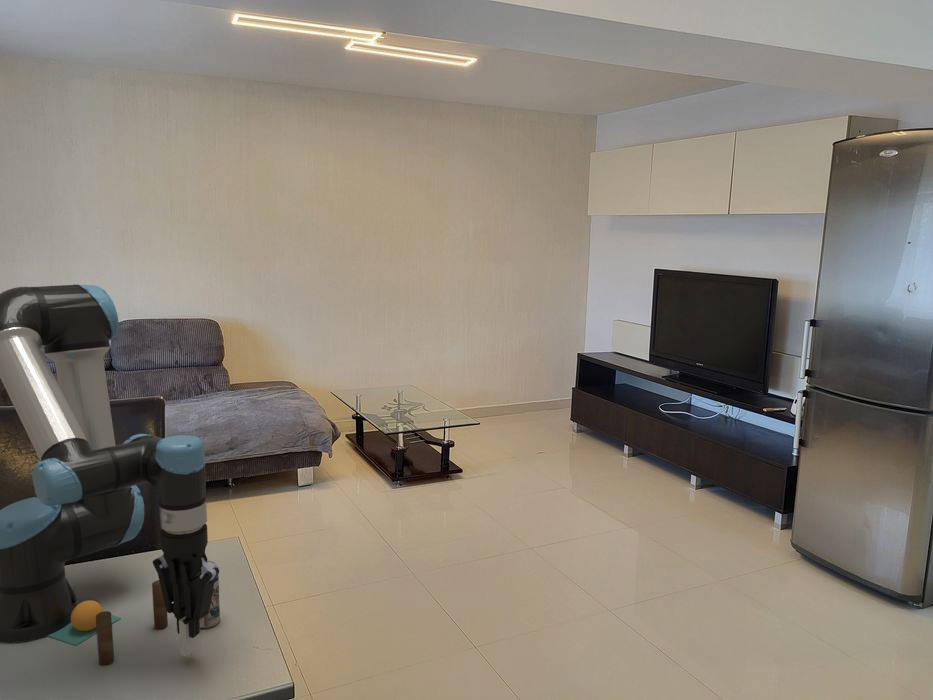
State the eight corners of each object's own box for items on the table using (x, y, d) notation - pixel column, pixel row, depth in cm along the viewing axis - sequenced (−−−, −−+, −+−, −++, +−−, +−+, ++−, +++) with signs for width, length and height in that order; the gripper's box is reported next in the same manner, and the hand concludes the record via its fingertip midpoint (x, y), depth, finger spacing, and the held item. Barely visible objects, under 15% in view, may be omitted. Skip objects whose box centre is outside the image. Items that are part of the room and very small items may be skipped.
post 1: (95, 663, 122) (92, 616, 121) (107, 656, 125) (104, 610, 123) (105, 667, 121) (102, 619, 120) (117, 659, 124) (114, 613, 122)
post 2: (151, 627, 134) (149, 584, 132) (161, 621, 136) (158, 578, 134) (161, 630, 133) (158, 587, 131) (170, 624, 135) (168, 581, 133)
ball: (85, 614, 128) (85, 640, 129) (110, 600, 133) (110, 625, 134) (63, 605, 130) (63, 631, 131) (88, 591, 135) (88, 617, 136)
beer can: (211, 631, 133) (209, 573, 131) (189, 628, 134) (186, 570, 132) (225, 618, 138) (223, 561, 136) (203, 614, 139) (201, 558, 137)
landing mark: (37, 632, 131) (37, 631, 131) (84, 607, 140) (84, 606, 140) (75, 645, 127) (75, 644, 127) (121, 618, 137) (121, 617, 136)
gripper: (137, 527, 119) (144, 653, 123) (197, 541, 114) (202, 672, 118) (171, 511, 125) (177, 631, 129) (229, 524, 121) (233, 648, 125)
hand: (189, 651), depth 124 cm, fingers closed
